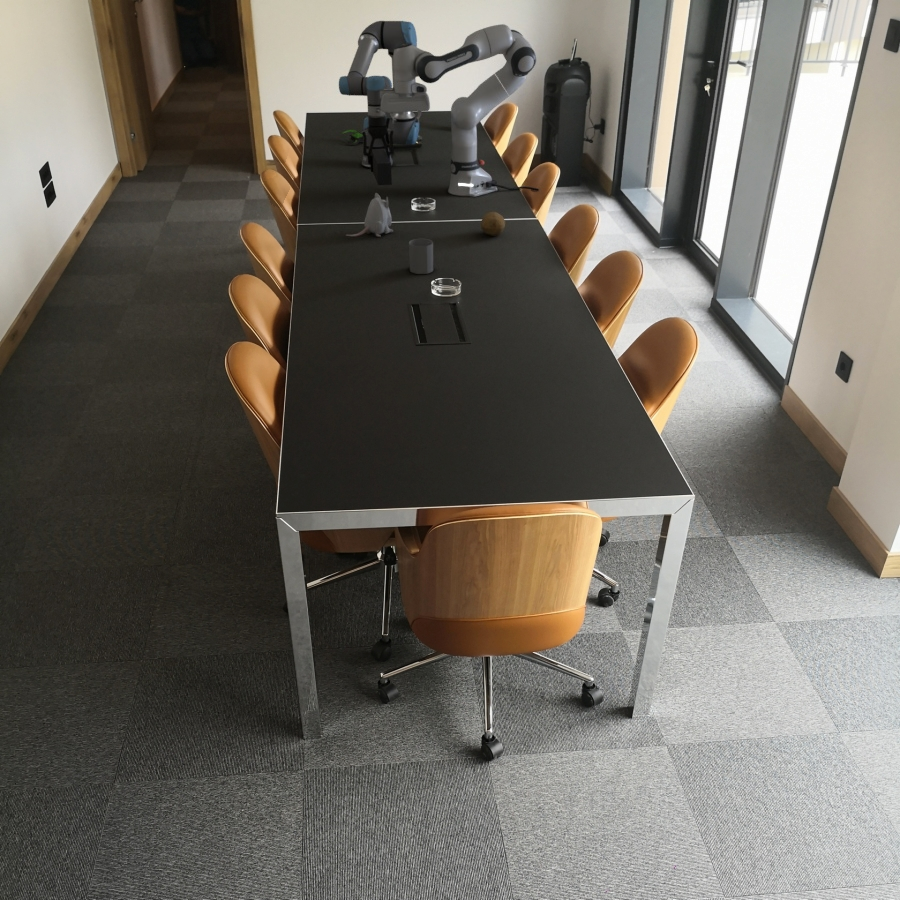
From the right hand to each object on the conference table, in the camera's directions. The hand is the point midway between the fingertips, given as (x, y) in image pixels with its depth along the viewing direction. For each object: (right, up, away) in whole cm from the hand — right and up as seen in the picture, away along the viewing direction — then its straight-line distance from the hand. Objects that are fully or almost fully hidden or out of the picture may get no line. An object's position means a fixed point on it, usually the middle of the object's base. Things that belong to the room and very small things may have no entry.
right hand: (405, 122), depth 359 cm
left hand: (-13, -13, +21) cm, 28 cm away
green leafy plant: (-25, +30, +107) cm, 114 cm away
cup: (+8, -72, -51) cm, 89 cm away
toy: (-13, -53, -21) cm, 58 cm away
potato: (+35, -51, -19) cm, 65 cm away
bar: (-11, -18, +14) cm, 26 cm away
